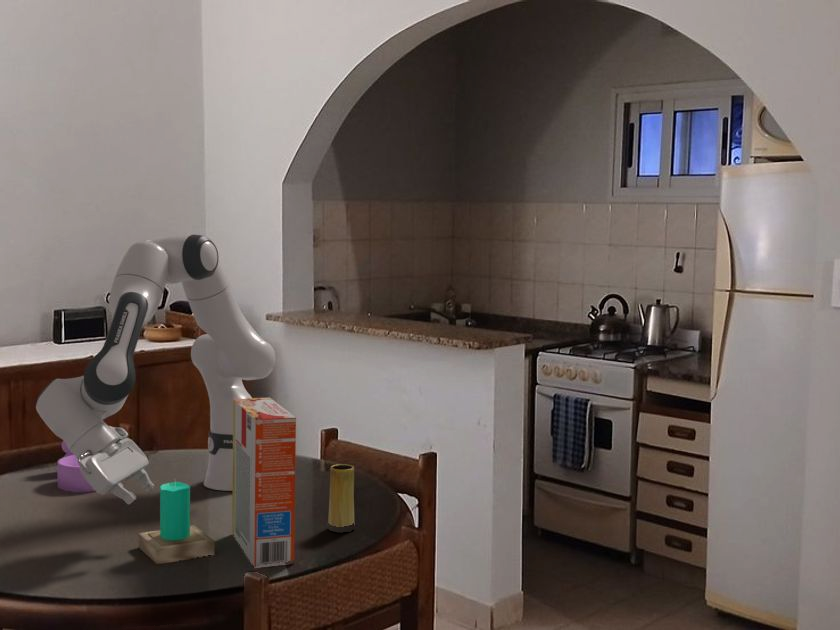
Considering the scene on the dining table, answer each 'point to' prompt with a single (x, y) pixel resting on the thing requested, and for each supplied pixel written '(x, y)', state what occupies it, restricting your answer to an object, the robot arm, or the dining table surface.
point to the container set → (71, 473)
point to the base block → (176, 546)
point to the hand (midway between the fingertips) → (142, 495)
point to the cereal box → (264, 480)
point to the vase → (341, 495)
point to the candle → (174, 511)
